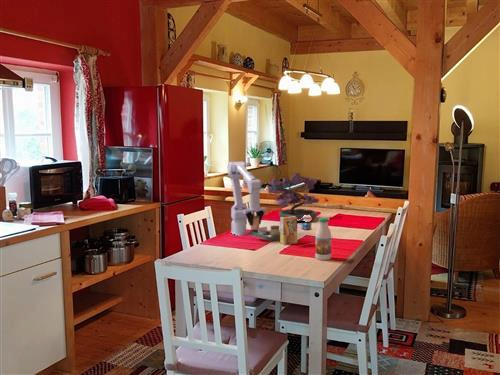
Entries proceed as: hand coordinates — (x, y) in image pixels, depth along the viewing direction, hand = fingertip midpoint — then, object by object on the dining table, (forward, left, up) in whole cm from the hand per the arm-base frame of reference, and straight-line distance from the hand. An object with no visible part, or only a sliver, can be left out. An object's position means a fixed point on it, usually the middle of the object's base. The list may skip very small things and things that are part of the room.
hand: (254, 224), depth 275 cm
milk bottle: (+51, +4, -10) cm, 52 cm away
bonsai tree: (-34, +58, -10) cm, 68 cm away
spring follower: (-8, +10, -8) cm, 15 cm away
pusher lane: (-1, +10, -9) cm, 14 cm away
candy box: (+19, +9, -10) cm, 23 cm away
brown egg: (+5, +10, -8) cm, 14 cm away
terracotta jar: (0, 0, -2) cm, 2 cm away
